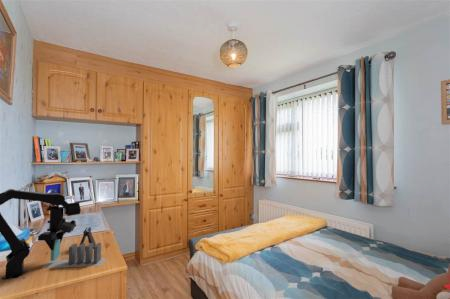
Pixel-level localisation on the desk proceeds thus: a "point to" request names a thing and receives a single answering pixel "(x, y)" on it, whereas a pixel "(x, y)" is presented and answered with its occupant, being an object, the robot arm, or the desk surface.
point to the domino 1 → (55, 250)
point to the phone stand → (90, 237)
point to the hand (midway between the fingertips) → (55, 247)
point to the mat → (66, 264)
